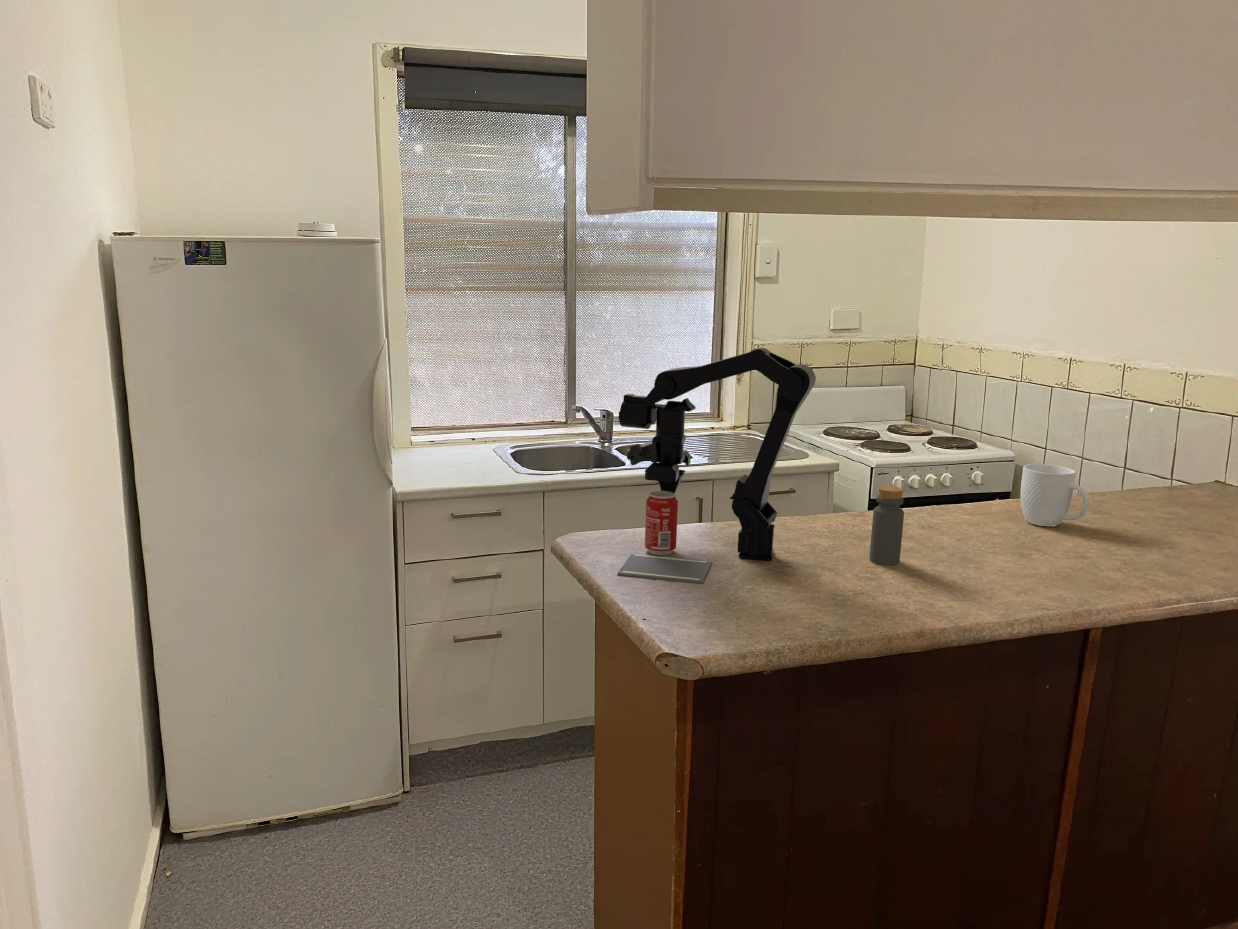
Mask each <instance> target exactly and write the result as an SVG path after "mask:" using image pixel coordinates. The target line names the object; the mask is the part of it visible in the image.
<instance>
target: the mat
mask: <svg viewBox="0 0 1238 929" xmlns="http://www.w3.org/2000/svg"><path fill="white" fill-rule="evenodd" d="M711 566H712V561H708V560H700V559H699V560H698V559H687V558H677V557H668V556H660V555H647V554H636V553H630V555H629V556H628V558H627V559H626V560H625V562H624V563H623V565H622V566H621V567H620V569H619V570H618V572H617V576H623V577H633V578H635V577H636V578H642V579H653V580H665V581H672V582H681V583H682V582H683V583H690V584H691V583H693V584H703V585H704V582H705V580H706V578H707V574H708V572H709V570H710V568H711Z"/></svg>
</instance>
